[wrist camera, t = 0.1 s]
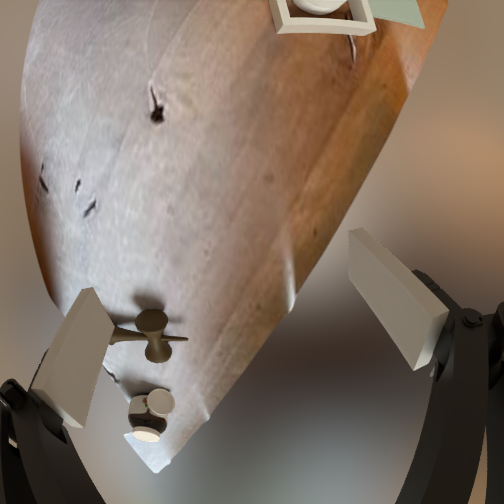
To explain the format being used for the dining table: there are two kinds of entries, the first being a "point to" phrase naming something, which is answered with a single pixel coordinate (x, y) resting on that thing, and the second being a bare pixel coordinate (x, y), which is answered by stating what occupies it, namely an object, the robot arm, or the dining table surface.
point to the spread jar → (150, 414)
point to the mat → (397, 11)
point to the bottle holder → (324, 20)
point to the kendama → (149, 335)
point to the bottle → (319, 6)
